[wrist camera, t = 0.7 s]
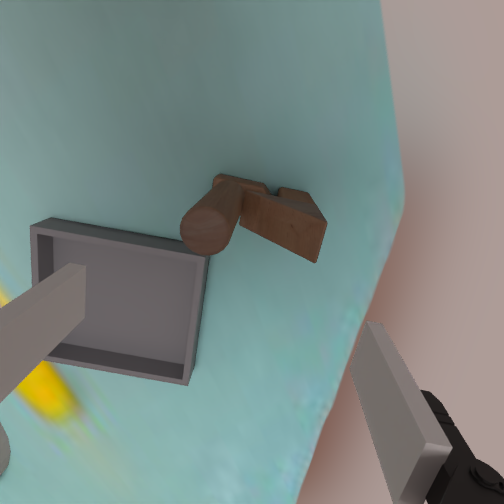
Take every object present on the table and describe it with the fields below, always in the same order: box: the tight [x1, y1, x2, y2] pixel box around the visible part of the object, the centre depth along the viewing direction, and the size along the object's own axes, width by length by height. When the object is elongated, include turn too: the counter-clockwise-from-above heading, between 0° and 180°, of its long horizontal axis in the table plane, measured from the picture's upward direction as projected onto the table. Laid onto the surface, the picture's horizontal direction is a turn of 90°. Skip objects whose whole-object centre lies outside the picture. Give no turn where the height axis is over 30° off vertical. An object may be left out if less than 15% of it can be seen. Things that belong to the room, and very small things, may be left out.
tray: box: [30, 218, 210, 386], centre depth 44 cm, size 18×20×4 cm
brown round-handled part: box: [180, 174, 327, 263], centre depth 32 cm, size 4×11×18 cm, turn 78°
